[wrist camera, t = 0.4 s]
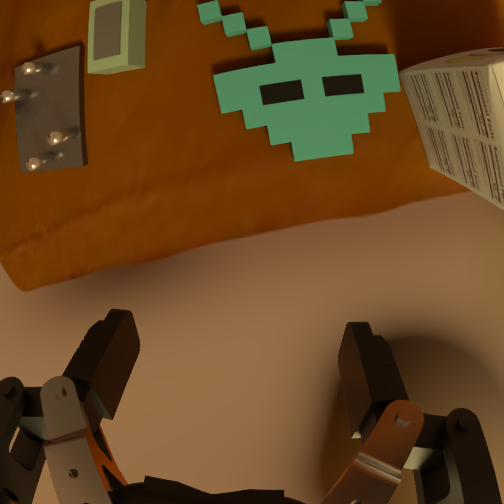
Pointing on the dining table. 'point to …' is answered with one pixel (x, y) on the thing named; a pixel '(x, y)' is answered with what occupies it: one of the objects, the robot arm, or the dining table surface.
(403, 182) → the dining table surface
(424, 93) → the supplement box
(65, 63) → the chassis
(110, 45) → the block
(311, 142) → the alien figure
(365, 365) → the robot arm
